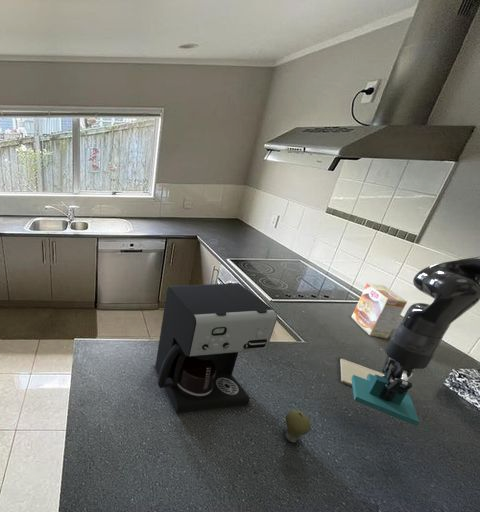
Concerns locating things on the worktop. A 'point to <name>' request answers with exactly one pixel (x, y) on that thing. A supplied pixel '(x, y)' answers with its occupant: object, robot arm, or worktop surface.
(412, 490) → the worktop surface
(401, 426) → the worktop surface
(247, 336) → the coffee maker
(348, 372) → the beige tile
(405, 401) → the teal tile
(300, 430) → the light bulb
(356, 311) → the coffeecake box
